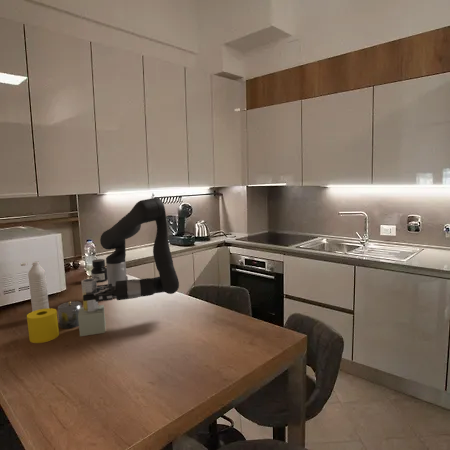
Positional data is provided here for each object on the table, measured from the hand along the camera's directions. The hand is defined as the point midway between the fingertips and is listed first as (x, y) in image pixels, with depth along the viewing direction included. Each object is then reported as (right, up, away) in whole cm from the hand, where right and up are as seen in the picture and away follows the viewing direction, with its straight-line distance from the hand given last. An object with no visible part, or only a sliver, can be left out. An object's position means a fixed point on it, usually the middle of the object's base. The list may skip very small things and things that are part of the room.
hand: (84, 294), depth 137 cm
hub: (-9, -14, +9) cm, 19 cm away
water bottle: (-26, -14, +16) cm, 33 cm away
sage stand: (+3, -14, +3) cm, 15 cm away
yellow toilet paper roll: (-14, -16, -2) cm, 21 cm away
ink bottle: (-19, -6, +72) cm, 75 cm away
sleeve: (+2, -6, +2) cm, 7 cm away
